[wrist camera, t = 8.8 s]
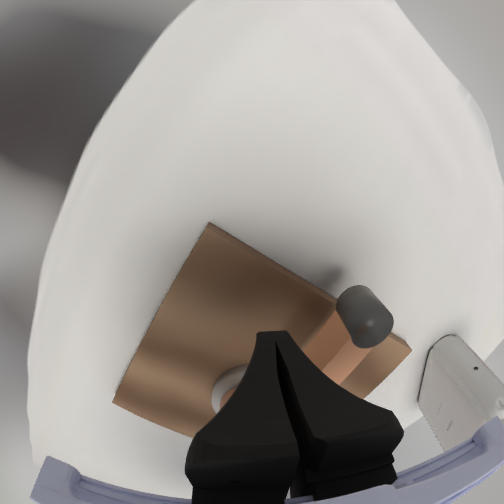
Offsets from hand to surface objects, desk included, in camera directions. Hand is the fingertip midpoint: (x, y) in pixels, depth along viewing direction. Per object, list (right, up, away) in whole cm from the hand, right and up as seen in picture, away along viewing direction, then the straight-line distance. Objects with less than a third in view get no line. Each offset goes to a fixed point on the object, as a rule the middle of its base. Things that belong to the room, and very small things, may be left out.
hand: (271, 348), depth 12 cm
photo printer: (+18, -8, +9) cm, 22 cm away
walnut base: (-1, -6, +8) cm, 10 cm away
